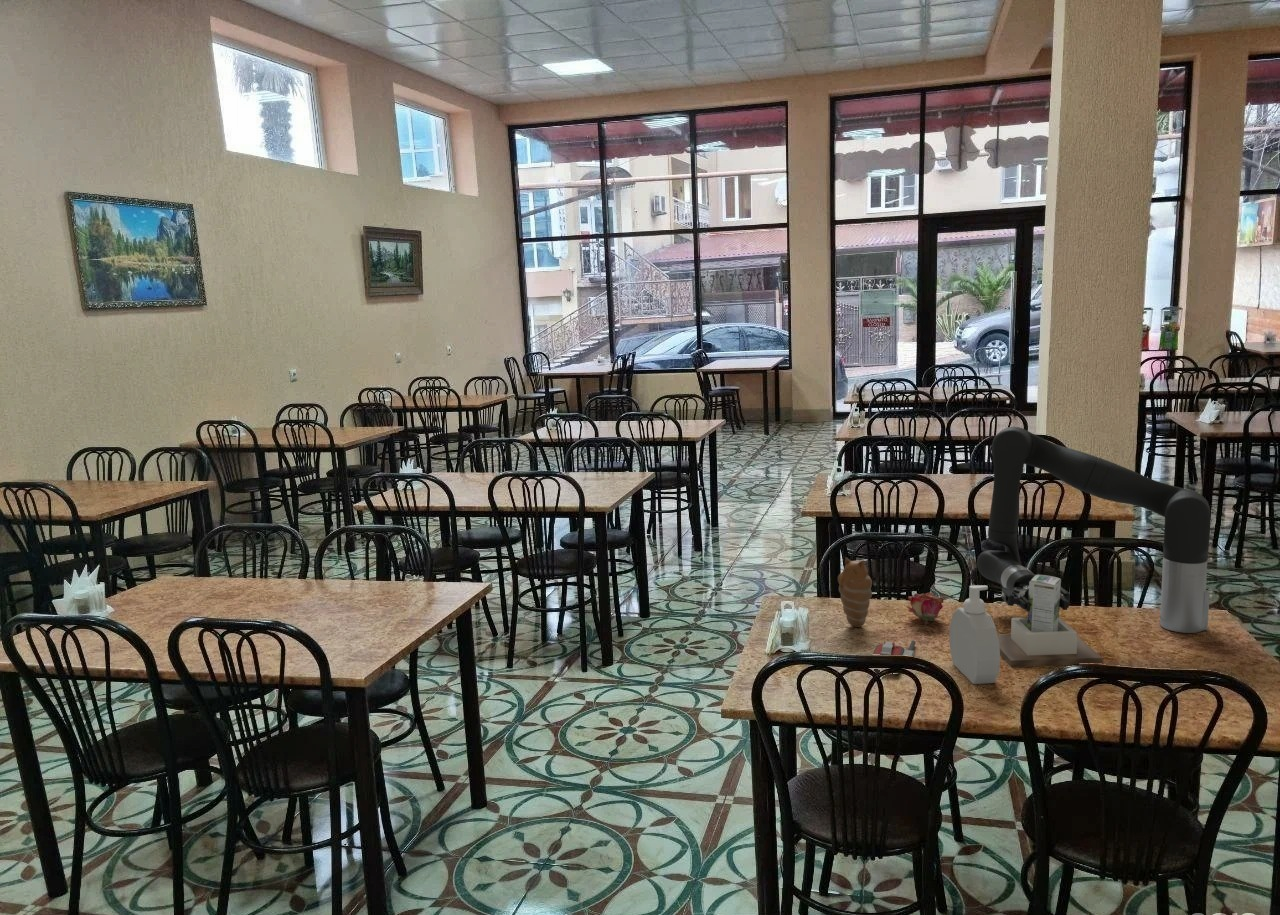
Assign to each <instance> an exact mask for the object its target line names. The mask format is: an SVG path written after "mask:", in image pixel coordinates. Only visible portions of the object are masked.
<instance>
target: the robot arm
mask: <svg viewBox="0 0 1280 915" xmlns="http://www.w3.org/2000/svg"><path fill="white" fill-rule="evenodd" d="M991 448H992V459H993V488H992V489H993V491H992V496H991V497H992V498H991V506H990V512H989V520H988V528H987V529H988V530H987V538H988V539H989V540H990V541H991V542H992V543H993V542H994V543H997V544H1001V545H1004V550H991V549H990V550H989V549H987V550H983V551H982V552H981V553H979V555H978V557H977V560H976V566H977V570H978V571H979V573H980V575H981V576H983V578H985V579H987V580H989V581H992V582H994V583H997V584H1000V585H1001V586H1002V588H1001V599H1002V600H1003V601H1004V602H1005V603H1006V605H1007V606H1010V607H1014V605H1016V606H1017V607H1019V608H1020V609H1022V610H1024V611H1025V612H1028V611H1030V602H1029V601H1028V598H1029V582H1030V581H1031V580H1032V579H1033V577H1034V576H1035V575H1036V574H1034V573H1033V572H1032V571H1031V570H1030V569H1028V568H1027V567H1026V566H1023V565H1022V564H1021V557H1020V553H1019V546H1018V528H1019V520H1020V518H1019V517H1020V516H1019V515H1020V483H1021V477H1022V472H1023V468H1024V465H1027V466H1030V467H1033V468H1037V469H1040V470H1042V471H1044V472H1046V473H1048V474H1050V475H1052V476H1054V477H1055V478H1057V479H1059V480H1060V481H1062V482H1063V483H1065V484H1067V485H1069V486H1071V487H1073V488H1074V489H1076V490H1078V491H1081V492H1083V493H1086V494H1089V495H1091V496H1094V497H1097V498H1099V499H1102V500H1107V501H1110V502H1116V503H1122V504H1126V505H1133V506H1136V507H1139V508H1140V507H1141V508H1143V509H1146V510H1148V511H1150V512H1153V513H1155V514H1157V515H1160V516H1161V517H1163V518H1164V531H1163V552H1162V553H1163V555H1162V575H1161V576H1162V577H1161V591H1160V592H1161V594H1160V596H1161V597H1160V614H1159V626H1160V627H1162V628H1163V629H1165V630H1168V631H1172V632H1176V633H1183V634H1196V633H1201V632H1203V631H1208V626H1209V610H1210V609H1209V607H1210V594H1211V593H1210V592H1209V591H1208V590H1207V577H1208V576H1207V574H1208V561H1209V560H1208V559H1209V558H1208V557H1209V548H1210V534H1211V533H1210V532H1211V531H1210V530H1211V508H1210V504H1209V502H1208V500H1207V498H1205V497H1204V495H1202V494H1200V493H1199V492H1197V491H1193V490H1192V489H1191V490H1190V489H1186V488H1184V487H1179V486H1175V485H1171V484H1169V483H1165V482H1161V481H1158V480H1154V479H1151V478H1150V477H1147V476H1145V475H1143V474H1141V473H1138V472H1137V471H1134V470H1132V469H1129V468H1126V467H1124V466H1122V465H1120V464H1117V463H1115V462H1112V461H1110V460H1106V459H1104V458H1101V457H1098V456H1096V455H1092V454H1090V453H1086V452H1083V451H1080V450H1078V449H1074V448H1070V447H1066V446H1063V445H1059V444H1056V443H1054V442H1051V441H1049V440H1047V439H1045V438H1043V437H1040V436H1038V435H1036V434H1034V433H1032V432H1030V431H1029V430H1026V429H1025V428H1022V427H1019V426H1009V427H1005V428H1003V429H1002V430H1001V431H999V432H998V433H997V434H996V435H995V436H994V438H993V440H992V444H991ZM1070 598H1071V592H1069V591H1067V590H1066V589H1065V588H1063V587H1062V586H1061V587H1060V608H1061V609H1062V610H1063V611H1067V610H1068V609H1069V607H1070V604H1071V601H1070Z"/></svg>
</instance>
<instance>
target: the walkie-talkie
mask: <svg viewBox="0 0 1280 915" xmlns="http://www.w3.org/2000/svg"><path fill="white" fill-rule="evenodd" d="M916 643H917V642H916V641H915V640H912V641H910V644H909V648H908V649H905V648H904V647H903V646H901V645H895V642H894V641H893V642H892V641H884V643H883V644H882V643H879V644H876V645H875V647H874V650H873V651H872V654H880V655H908V656H914V657H915V651H914V649H915V645H916ZM874 671H875V672H876V673H875V674H878V673H879V672H880V670H878V669H874ZM898 675H899V674H893V673H892V674H890V676H898Z"/></svg>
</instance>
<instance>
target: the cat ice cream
mask: <svg viewBox="0 0 1280 915" xmlns="http://www.w3.org/2000/svg"><path fill="white" fill-rule="evenodd" d="M844 563H845V566H844V569H842V571H841V572H840V573H839V574H838V576H837V582H838V584H839V585H838V593H839V594H840V601H841V604H842V609H843V612H844V614H845V615H846V616H845V617H846V620H847V622H848V624H849V625H850V626H852V627H853V626H854V627H853V628H861V627H863V626H864V625H865V623H866V619H867V617H868V613H869V607H870V604H871V603H870V602H871V598H872V595H873V592H872V590H871V588H872V585H873V580H872V578H871V577H870V575H869V574H868V573H869V572H868V568H867V566H866V565H865V563H866V562H865V560H864V559H863V560H851V559H849V558H848V557H845V560H844Z"/></svg>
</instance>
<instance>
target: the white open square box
mask: <svg viewBox="0 0 1280 915" xmlns="http://www.w3.org/2000/svg"><path fill="white" fill-rule="evenodd" d="M1010 620H1011V621H1010V623H1011V624H1010V625H1011V626H1010V629H1011V630H1010V634H1011V639H1012V640H1013V641H1014V642H1015V643H1016V644H1017V645H1018V646H1019V647H1020V648H1021V649H1022V650H1023V651H1024V652H1025V653H1026V654H1027V655H1059V654H1077V636H1078V632H1077V631H1076V630H1075V629H1074V628H1072V627H1071V626H1070V625H1069V624H1067V622H1066V621H1064V620H1063V619H1062V618H1061V617H1059V628H1058V631H1056V632H1031V631H1030V630H1029V629H1028V628H1027V620H1028V616H1027V617H1011V619H1010Z"/></svg>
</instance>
